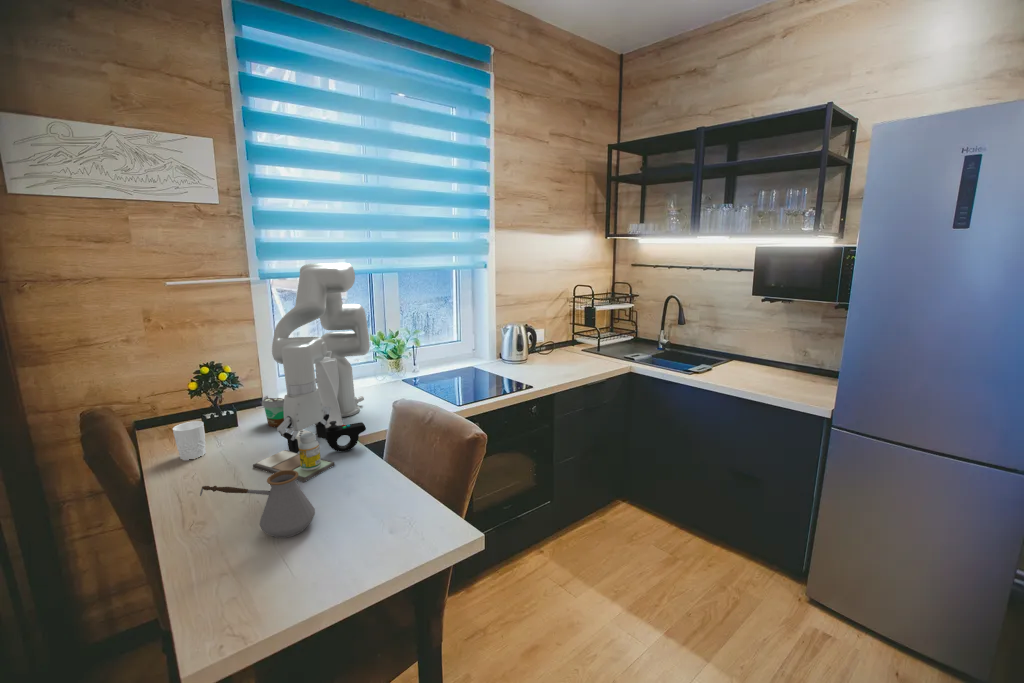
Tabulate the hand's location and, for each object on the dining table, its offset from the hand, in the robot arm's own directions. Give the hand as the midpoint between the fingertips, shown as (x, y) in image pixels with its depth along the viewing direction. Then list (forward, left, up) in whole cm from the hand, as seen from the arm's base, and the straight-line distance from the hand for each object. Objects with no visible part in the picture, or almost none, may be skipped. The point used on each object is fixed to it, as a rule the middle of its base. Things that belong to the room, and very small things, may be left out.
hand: (308, 444), depth 134 cm
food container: (-20, -40, -8) cm, 45 cm away
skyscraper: (-25, -18, -8) cm, 32 cm away
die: (-11, -16, -8) cm, 21 cm away
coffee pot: (+26, +16, -8) cm, 32 cm away
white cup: (+8, -42, -8) cm, 44 cm away
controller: (-15, -1, -8) cm, 17 cm away
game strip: (0, -7, -8) cm, 10 cm away
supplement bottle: (0, 0, -7) cm, 7 cm away
